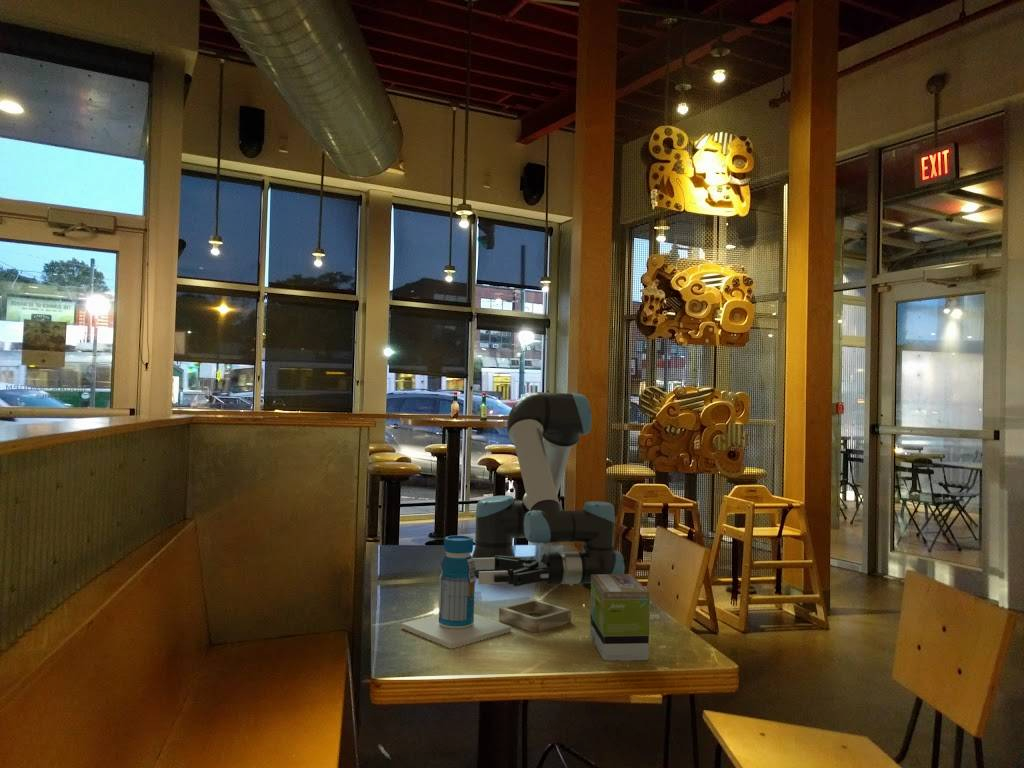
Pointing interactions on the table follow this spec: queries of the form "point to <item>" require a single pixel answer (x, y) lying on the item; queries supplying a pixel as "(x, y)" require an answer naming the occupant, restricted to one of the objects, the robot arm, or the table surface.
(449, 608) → the beverage bottle
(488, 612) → the table surface
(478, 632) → the serving board
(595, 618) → the tea box
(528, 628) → the collar
